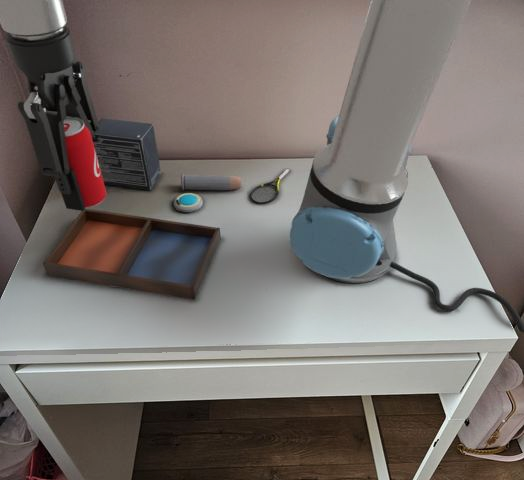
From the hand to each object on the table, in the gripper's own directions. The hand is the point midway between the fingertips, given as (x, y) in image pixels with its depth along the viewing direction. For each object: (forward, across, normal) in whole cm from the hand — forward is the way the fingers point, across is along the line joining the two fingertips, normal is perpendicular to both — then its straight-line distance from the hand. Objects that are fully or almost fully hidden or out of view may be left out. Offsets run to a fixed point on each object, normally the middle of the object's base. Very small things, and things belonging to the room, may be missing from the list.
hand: (85, 194), depth 80 cm
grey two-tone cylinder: (+9, -23, +13) cm, 28 cm away
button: (+11, -16, +10) cm, 22 cm away
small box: (+11, -22, -3) cm, 25 cm away
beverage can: (+1, 0, 0) cm, 1 cm away
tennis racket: (+11, -26, +22) cm, 36 cm away
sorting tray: (+11, 0, +6) cm, 13 cm away
